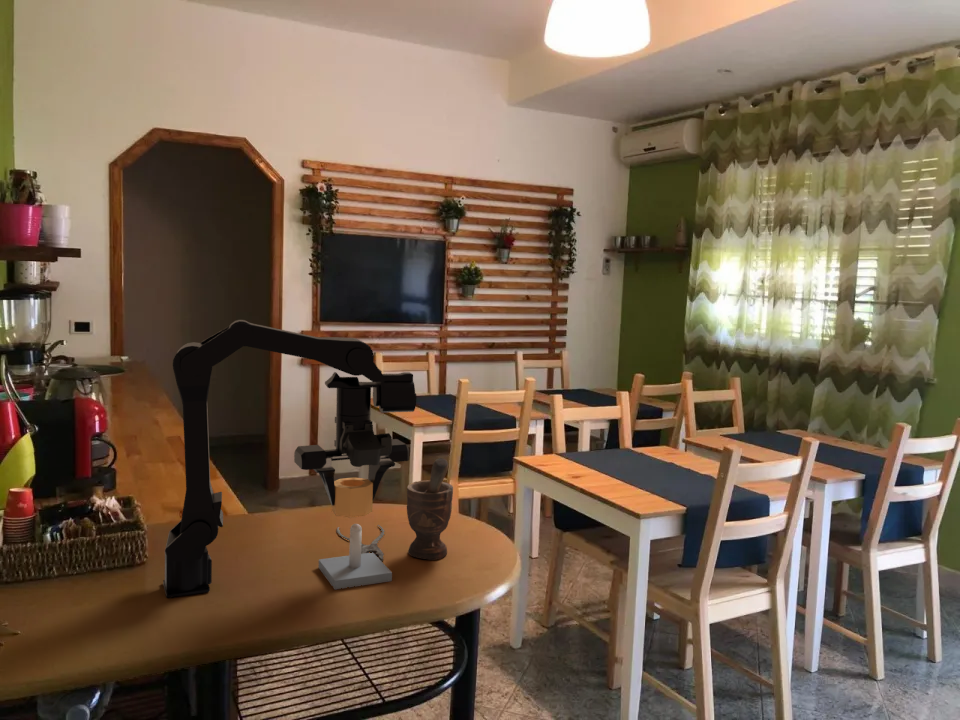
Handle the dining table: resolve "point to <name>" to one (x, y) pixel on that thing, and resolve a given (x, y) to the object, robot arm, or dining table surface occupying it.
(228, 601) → the dining table surface
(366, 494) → the collar
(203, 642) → the dining table surface
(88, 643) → the dining table surface
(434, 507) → the mortar and pestle
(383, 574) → the pin base
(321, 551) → the dining table surface
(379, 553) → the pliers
